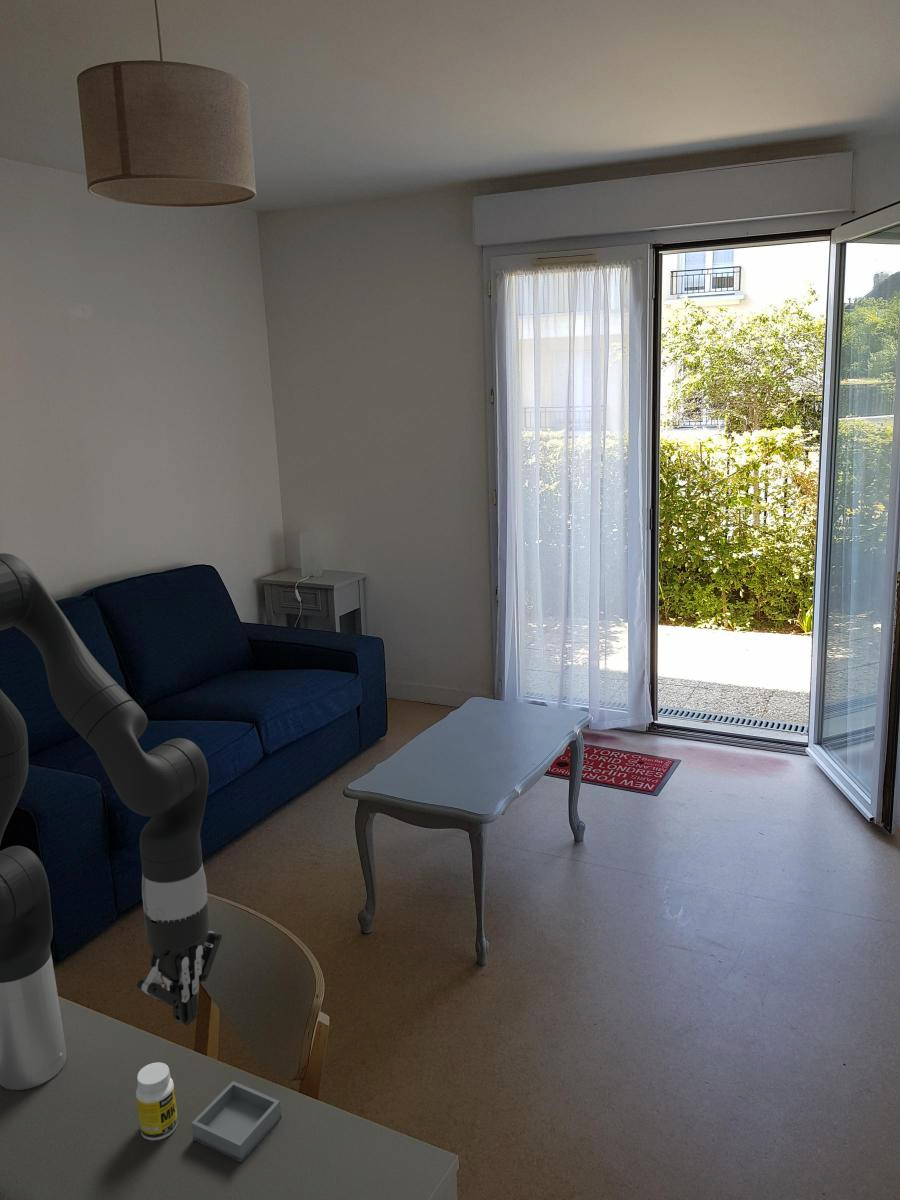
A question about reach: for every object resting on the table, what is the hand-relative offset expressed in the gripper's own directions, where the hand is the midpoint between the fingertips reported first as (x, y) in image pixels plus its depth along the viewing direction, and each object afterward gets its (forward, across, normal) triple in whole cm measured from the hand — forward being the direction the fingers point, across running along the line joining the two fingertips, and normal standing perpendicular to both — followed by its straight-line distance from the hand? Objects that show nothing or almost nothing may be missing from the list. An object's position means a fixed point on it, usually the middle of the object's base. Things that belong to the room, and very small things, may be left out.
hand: (186, 1020), depth 118 cm
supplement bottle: (+16, +2, -4) cm, 17 cm away
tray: (+16, -2, +6) cm, 17 cm away
